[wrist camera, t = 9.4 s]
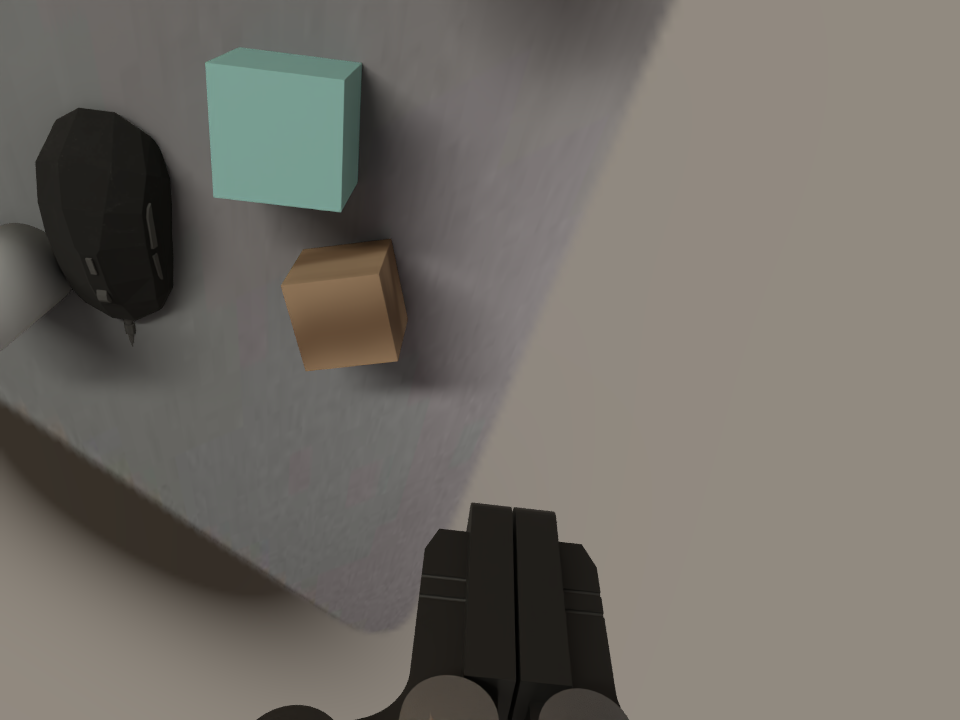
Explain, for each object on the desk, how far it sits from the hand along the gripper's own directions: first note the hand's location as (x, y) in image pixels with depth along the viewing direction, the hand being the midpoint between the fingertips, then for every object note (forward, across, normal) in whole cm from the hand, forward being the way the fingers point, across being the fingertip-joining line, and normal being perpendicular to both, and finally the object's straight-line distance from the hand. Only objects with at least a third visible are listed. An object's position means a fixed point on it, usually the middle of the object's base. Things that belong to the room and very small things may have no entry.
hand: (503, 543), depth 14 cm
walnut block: (+29, +7, +9) cm, 31 cm away
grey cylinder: (+29, +26, +10) cm, 40 cm away
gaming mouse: (+30, +20, +8) cm, 37 cm away
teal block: (+29, +10, 0) cm, 31 cm away
